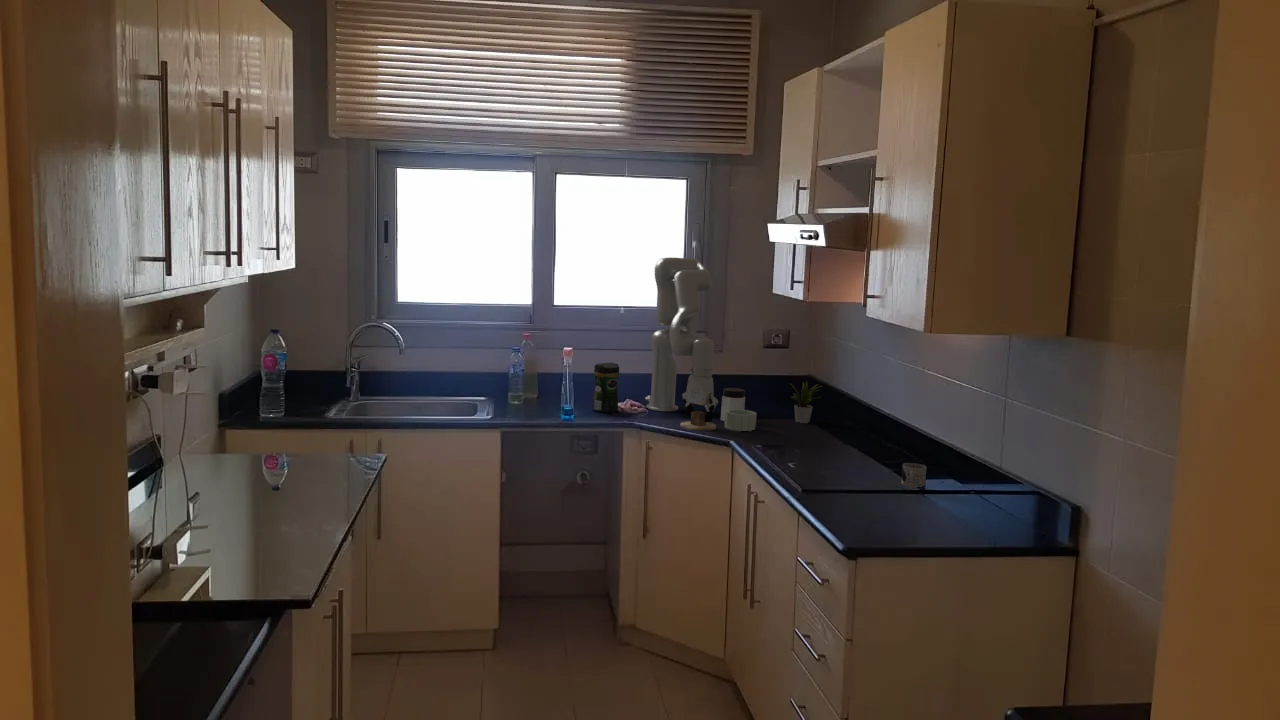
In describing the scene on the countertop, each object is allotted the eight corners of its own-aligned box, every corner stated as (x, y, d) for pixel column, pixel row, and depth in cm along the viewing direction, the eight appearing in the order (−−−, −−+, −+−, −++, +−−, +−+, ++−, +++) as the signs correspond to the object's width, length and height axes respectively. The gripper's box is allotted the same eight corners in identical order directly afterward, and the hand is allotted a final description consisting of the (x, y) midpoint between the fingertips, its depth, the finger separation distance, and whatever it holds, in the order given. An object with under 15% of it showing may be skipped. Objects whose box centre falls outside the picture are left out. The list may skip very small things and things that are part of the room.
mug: (902, 484, 289) (904, 461, 288) (925, 487, 286) (927, 465, 285) (898, 491, 279) (900, 468, 278) (922, 495, 277) (924, 472, 276)
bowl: (718, 427, 358) (719, 410, 357) (738, 424, 366) (739, 408, 365) (741, 432, 350) (742, 416, 349) (761, 429, 358) (762, 413, 357)
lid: (672, 426, 357) (673, 410, 356) (697, 422, 366) (698, 407, 365) (698, 432, 348) (699, 417, 347) (723, 429, 356) (724, 413, 356)
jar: (748, 422, 371) (750, 390, 370) (732, 423, 366) (735, 392, 364) (731, 417, 378) (733, 387, 376) (716, 419, 373) (718, 388, 371)
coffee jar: (608, 407, 385) (610, 360, 382) (621, 411, 379) (623, 363, 376) (588, 409, 379) (590, 361, 376) (601, 413, 373) (603, 364, 370)
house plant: (830, 425, 372) (834, 383, 370) (798, 426, 368) (801, 383, 365) (811, 418, 386) (814, 377, 383) (780, 419, 381) (783, 377, 379)
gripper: (677, 370, 358) (674, 416, 360) (712, 376, 345) (709, 425, 347) (691, 369, 363) (689, 414, 365) (726, 375, 350) (723, 423, 353)
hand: (698, 419), depth 356 cm, fingers open, 9 cm apart
